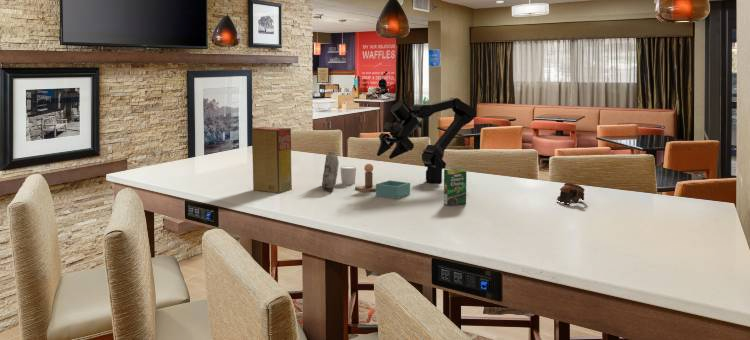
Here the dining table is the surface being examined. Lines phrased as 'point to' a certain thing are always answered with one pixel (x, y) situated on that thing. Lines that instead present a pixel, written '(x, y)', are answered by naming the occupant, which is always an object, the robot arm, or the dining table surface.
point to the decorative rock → (330, 171)
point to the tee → (367, 184)
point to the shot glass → (348, 174)
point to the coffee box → (455, 186)
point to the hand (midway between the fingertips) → (383, 156)
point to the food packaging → (271, 159)
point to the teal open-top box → (393, 189)
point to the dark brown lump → (571, 193)
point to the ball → (368, 168)
